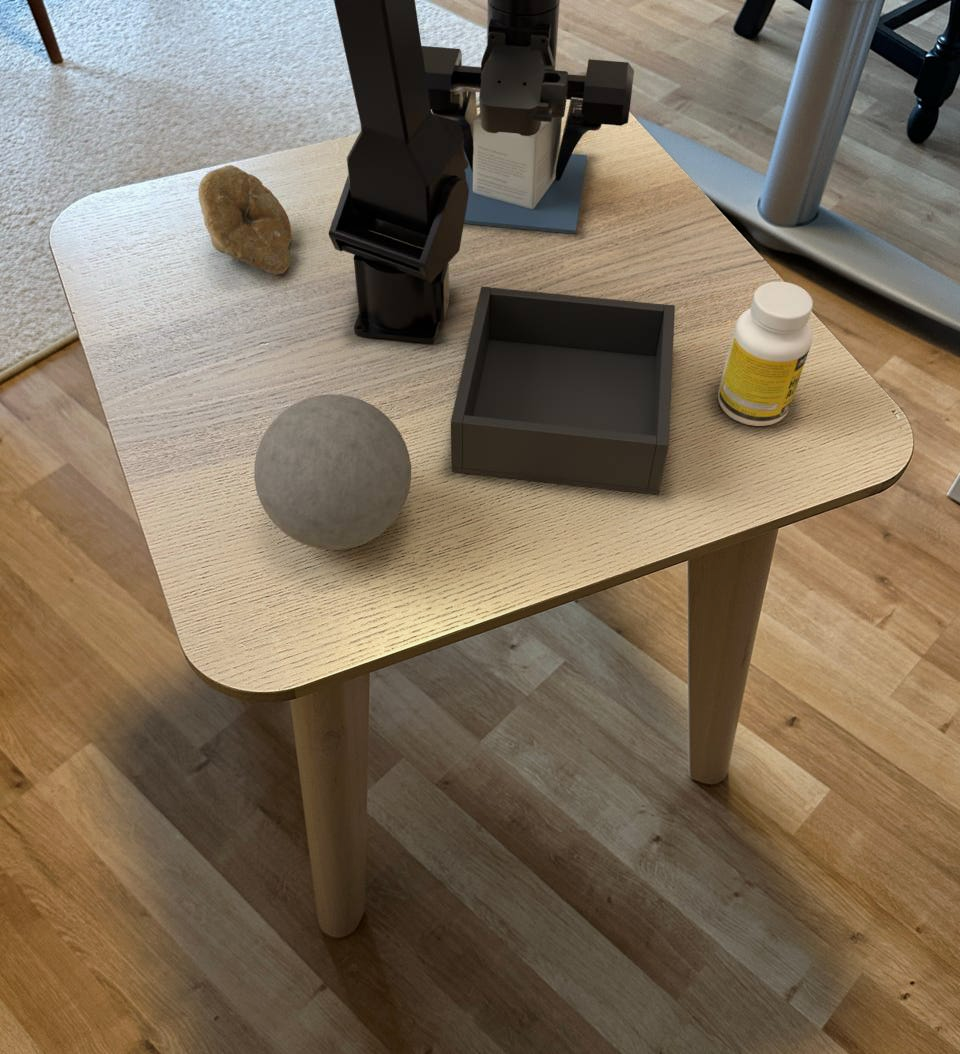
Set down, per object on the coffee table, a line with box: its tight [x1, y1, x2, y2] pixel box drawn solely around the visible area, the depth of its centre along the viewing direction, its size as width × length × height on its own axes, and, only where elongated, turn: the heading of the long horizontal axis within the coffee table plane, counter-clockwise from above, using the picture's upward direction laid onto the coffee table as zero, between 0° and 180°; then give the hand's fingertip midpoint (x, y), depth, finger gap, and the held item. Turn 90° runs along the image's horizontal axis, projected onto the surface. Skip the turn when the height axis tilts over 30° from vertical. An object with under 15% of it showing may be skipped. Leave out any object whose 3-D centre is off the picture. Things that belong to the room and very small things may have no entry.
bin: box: [450, 286, 676, 496], centre depth 78 cm, size 15×15×5 cm
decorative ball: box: [253, 393, 412, 551], centre depth 69 cm, size 10×10×10 cm
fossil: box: [197, 164, 293, 275], centre depth 90 cm, size 9×4×10 cm
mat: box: [464, 152, 588, 235], centre depth 98 cm, size 12×12×1 cm
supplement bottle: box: [717, 281, 814, 427], centre depth 77 cm, size 5×5×10 cm
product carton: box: [473, 112, 563, 209], centre depth 95 cm, size 6×6×7 cm
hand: (516, 174), depth 97 cm, fingers open, 7 cm apart
